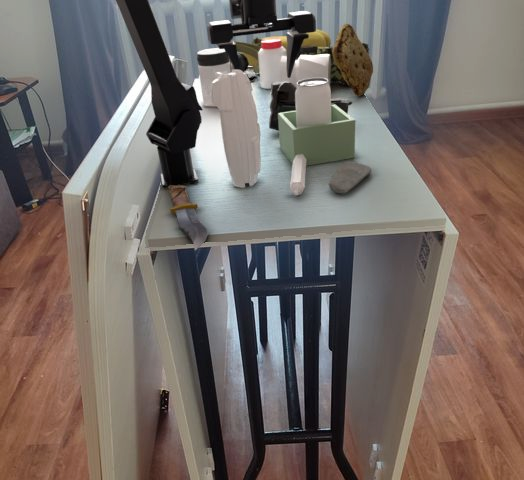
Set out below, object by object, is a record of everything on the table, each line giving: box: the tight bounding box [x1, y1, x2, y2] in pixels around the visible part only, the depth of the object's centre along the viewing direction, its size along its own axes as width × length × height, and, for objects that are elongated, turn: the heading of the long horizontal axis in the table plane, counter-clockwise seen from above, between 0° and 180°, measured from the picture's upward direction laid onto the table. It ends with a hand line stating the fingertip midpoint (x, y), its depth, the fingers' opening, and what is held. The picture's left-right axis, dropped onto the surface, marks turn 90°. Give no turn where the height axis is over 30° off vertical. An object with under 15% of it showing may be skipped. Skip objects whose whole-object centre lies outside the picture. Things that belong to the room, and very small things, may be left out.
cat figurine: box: [268, 81, 353, 132], centre depth 118 cm, size 10×14×18 cm
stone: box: [328, 160, 372, 194], centre depth 91 cm, size 12×2×5 cm
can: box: [295, 78, 332, 128], centre depth 99 cm, size 6×6×12 cm
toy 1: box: [230, 52, 250, 73], centre depth 157 cm, size 7×7×15 cm
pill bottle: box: [258, 38, 287, 90], centre depth 145 cm, size 8×8×11 cm
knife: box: [167, 185, 209, 252], centre depth 85 cm, size 25×1×5 cm
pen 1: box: [248, 75, 259, 82], centre depth 153 cm, size 14×2×1 cm, turn 127°
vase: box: [280, 54, 331, 88], centre depth 137 cm, size 9×9×12 cm
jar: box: [196, 47, 232, 108], centre depth 136 cm, size 9×8×12 cm
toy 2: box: [240, 29, 332, 68], centre depth 165 cm, size 14×9×30 cm
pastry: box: [332, 22, 374, 97], centre depth 130 cm, size 17×17×3 cm
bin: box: [278, 104, 356, 167], centre depth 102 cm, size 12×12×7 cm
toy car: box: [297, 42, 370, 87], centre depth 142 cm, size 9×19×10 cm
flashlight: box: [212, 69, 262, 188], centre depth 89 cm, size 7×18×7 cm
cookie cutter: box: [233, 36, 263, 74], centre depth 155 cm, size 18×12×2 cm, turn 29°
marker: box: [289, 154, 307, 197], centre depth 92 cm, size 3×2×16 cm
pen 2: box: [331, 97, 349, 104], centre depth 131 cm, size 1×19×1 cm
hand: (264, 80), depth 100 cm, fingers open, 9 cm apart
